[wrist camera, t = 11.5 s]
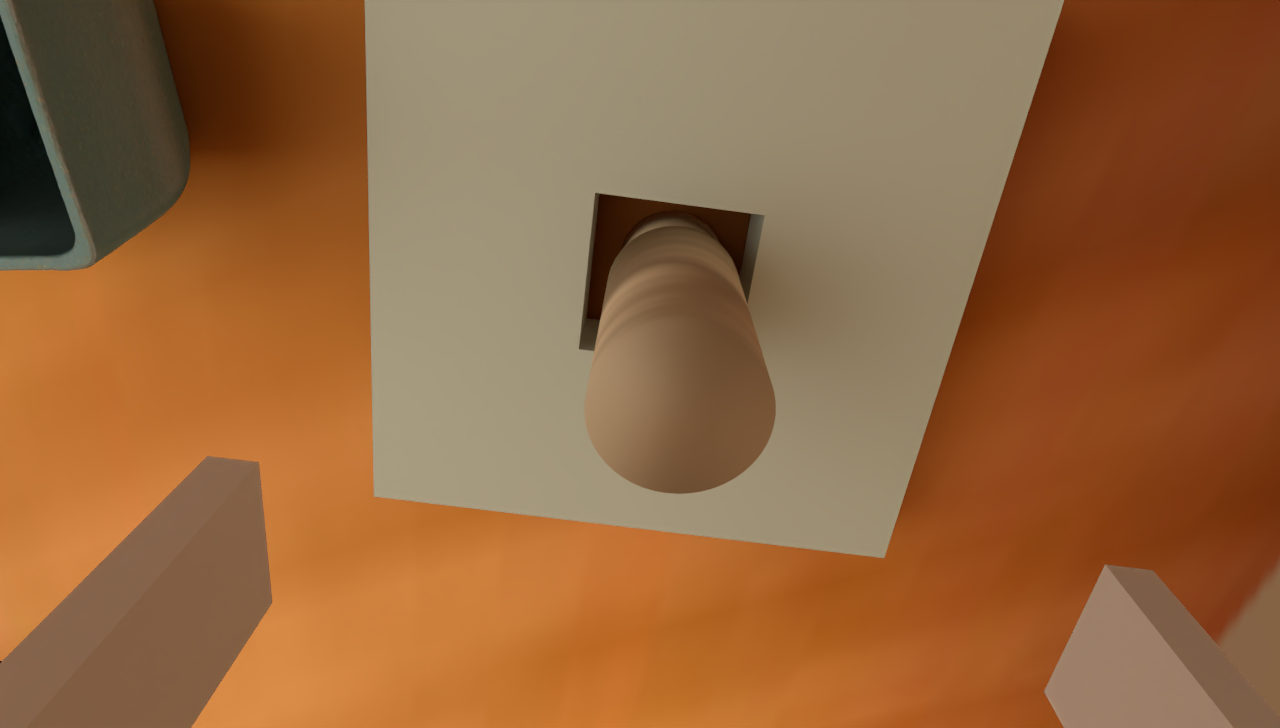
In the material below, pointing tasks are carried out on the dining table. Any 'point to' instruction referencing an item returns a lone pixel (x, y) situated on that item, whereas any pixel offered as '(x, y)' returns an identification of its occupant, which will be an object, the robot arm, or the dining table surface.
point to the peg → (677, 363)
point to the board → (690, 175)
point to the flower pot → (84, 130)
